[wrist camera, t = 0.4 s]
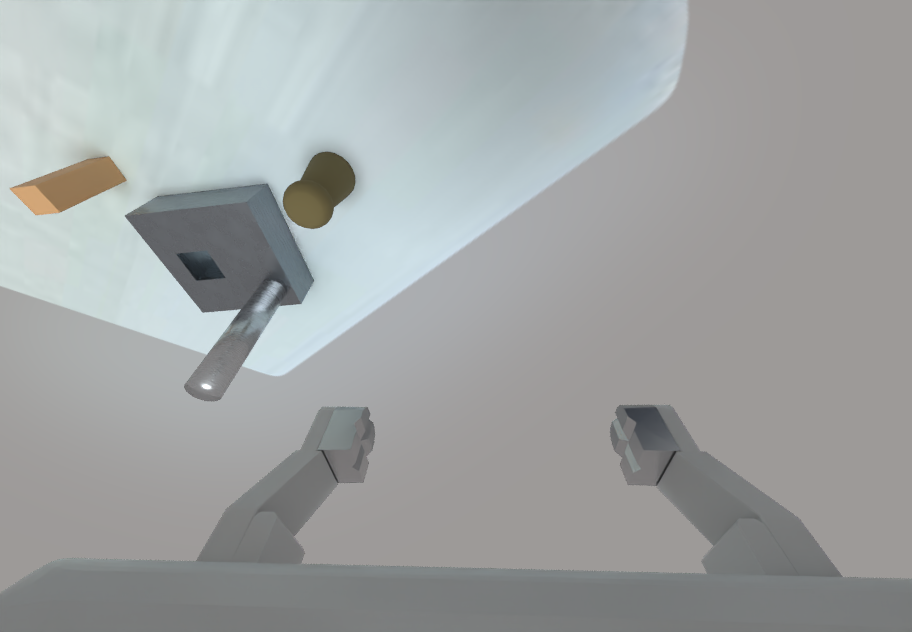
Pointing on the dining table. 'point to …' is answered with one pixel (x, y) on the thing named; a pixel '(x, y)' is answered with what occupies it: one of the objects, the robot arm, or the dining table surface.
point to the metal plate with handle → (226, 267)
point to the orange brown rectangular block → (69, 186)
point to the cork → (319, 190)
